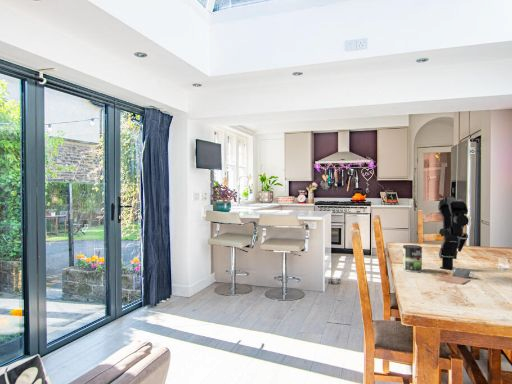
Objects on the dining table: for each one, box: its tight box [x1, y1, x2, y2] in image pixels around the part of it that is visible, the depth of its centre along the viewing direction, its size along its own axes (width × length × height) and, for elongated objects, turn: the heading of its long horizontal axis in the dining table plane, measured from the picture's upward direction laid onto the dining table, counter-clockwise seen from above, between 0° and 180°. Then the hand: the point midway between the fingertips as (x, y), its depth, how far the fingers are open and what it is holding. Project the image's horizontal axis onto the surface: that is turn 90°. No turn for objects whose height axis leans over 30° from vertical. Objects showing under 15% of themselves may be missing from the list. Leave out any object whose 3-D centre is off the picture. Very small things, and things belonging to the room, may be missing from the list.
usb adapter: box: [452, 267, 475, 279], centre depth 198 cm, size 10×4×4 cm, turn 42°
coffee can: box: [402, 244, 423, 273], centre depth 214 cm, size 10×10×14 cm
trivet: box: [436, 274, 471, 285], centre depth 191 cm, size 12×12×1 cm
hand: (456, 252), depth 198 cm, fingers open, 9 cm apart
